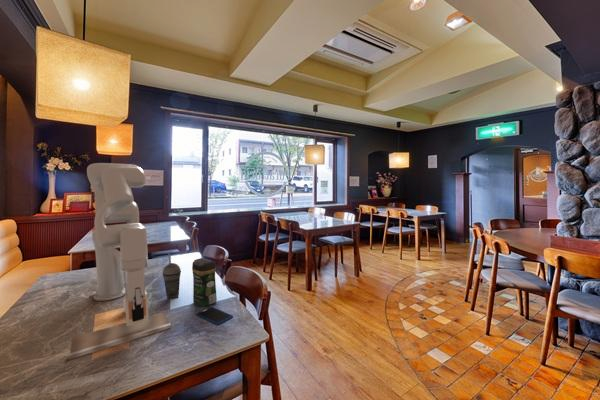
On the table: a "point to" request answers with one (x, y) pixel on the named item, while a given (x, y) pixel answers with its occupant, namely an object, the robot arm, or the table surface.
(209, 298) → the coffee jar
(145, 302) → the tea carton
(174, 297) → the beverage cup
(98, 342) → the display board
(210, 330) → the table surface
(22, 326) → the table surface
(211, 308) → the cell phone
